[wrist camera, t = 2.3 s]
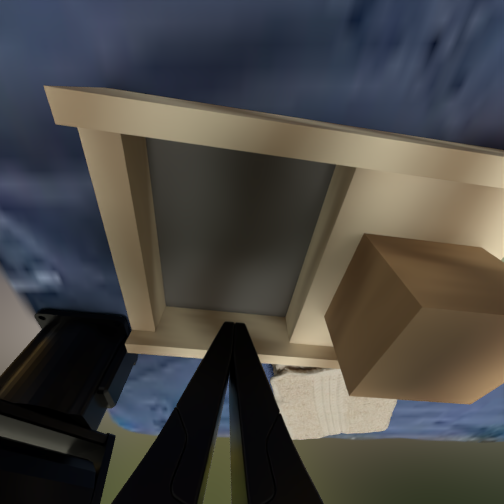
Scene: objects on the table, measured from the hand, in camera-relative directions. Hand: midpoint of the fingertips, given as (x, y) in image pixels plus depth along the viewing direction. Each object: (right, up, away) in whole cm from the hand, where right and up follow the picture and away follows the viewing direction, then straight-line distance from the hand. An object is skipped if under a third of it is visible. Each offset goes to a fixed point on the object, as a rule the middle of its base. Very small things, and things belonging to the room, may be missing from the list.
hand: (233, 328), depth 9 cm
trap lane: (+13, +2, +6) cm, 15 cm away
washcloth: (+9, -11, +16) cm, 22 cm away
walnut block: (+8, +1, +3) cm, 9 cm away
